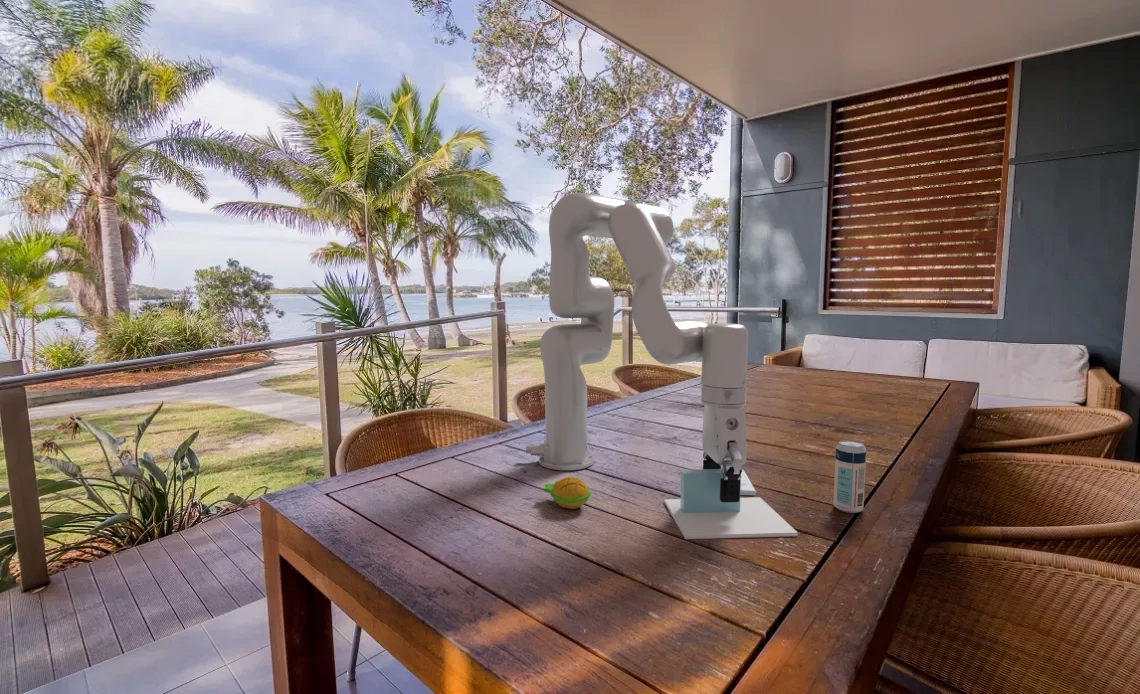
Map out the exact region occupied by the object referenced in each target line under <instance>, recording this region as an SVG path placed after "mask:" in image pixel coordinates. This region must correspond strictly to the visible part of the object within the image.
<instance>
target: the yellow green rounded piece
mask: <svg viewBox="0 0 1140 694" xmlns="http://www.w3.org/2000/svg"><path fill="white" fill-rule="evenodd" d="M542 490H543V492H546V493H549V494H550V496H551V497H552V498H553V500H554V501H555V503H556V504H558V506H560V507H562V508H564V509H568V510H575V509H577V508H580V507H582V506H584V505H585V504H586V503H587V501H588V500H589V497H591V496H592V495H591V493H592V492H591V489H589V487H588V486H587V484H586V483H585V482H583V480H582V479H580V478H577V477H572V476H566V477H563V478H560V479H558V480H555V482H554V483H546V484H545V486H544V487H543V488H542Z"/></svg>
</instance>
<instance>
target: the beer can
mask: <svg viewBox="0 0 1140 694" xmlns="http://www.w3.org/2000/svg"><path fill="white" fill-rule="evenodd" d="M866 457H867V449H866V446H865V444H864V443H862V442H859V441H854V440H840V441H839V442H838V444H837V445H836V446H835V463H834V482H833V485H834V486H833V502H832V503H833V504H832V505H833V507H835V508H836V509H837V510H839V511H841V512H843V513H847V514H858V513H861V512H863V510H864V504H865V503H864V501H865V483H866V466H867V465H866V463H867V462H866V461H867V458H866Z"/></svg>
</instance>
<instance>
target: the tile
mask: <svg viewBox="0 0 1140 694" xmlns="http://www.w3.org/2000/svg"><path fill="white" fill-rule="evenodd" d="M728 469H729V468H727V471H728ZM720 478H723V476H722V471H721V469H703V468H702V469H681V470H680V499H681V501H680V509H681V510H682V512H683V513H702V512H738V511H740V500H739V502H721V501H720ZM740 494H741V480H740Z"/></svg>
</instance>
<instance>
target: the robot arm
mask: <svg viewBox="0 0 1140 694" xmlns="http://www.w3.org/2000/svg"><path fill="white" fill-rule="evenodd" d="M548 223H549V224H548V236H549V243H550V265H549V266H550V267H549V268H550V269H549V290H548V291H549V297H548V298H549V300H548V301H549V303H548V304H549V308H550V312H551V313H552V314H553V315H554V316H555V317H557V318H560V319H581V320H580V323H567V324H557V325H554V326H551V327H549V328H548V329H547V330H545V331H544V333H543V334H542V335H541V338H540V343H539V347H540V348H539V349H540V351H539V352H540V356H541V360H542V361H541V362H542V366H543V373H544V374H543V375H544V399H545V400H544V402H545V403H544V407H545V408H544V410H545V411H544V413H545V414H544V415H545V423H544V424H545V440H544V441H543V442H544V443H539V445H538V444H537V445H536V444H535V445H534V444H526V445H525V453H526V455H527V454H530V456H539V457H538V463H539V465H540V466H542V467H544V468H546V469H549V470H555V471H578V470H583V469H587V468H590V467H591V466H592V465H593V464H594V463H595V457H594V455H593V454H591V453H590V452H588V384H587V380H586V378H585V376H584V373H583V372H582V371H583V370H582V369H581V367H580V366H586V365H592V364H597V363H600V362H603V361H604V360H606V358H607V357H608V356H609V354H610V352H611V349H612V343H613V329H614V318H615V317H614V313H615V295H614V291H613V288H612V286H611V285H610V283H609V282H608V281H607V280H606V279H604V278H602V277H600V276H594V275H591V276H590V263H591V261H590V259H591V258H590V253H589V250H588V249H589V248H588V247H587V244H586V242H585V239H583V238H584V236H591V237H599V238H608V239H612V240H613V242H614V244H615V247H616V249H617V250H618V253H619V255H620V256H621V259H622V261H623V263H624V265H625V267H626V269H627V272H628V274H629V276H630V278H631V280H632V283H633V287H634V288H633V290H632V296H631V313H632V320H633V323H634V326H635V329H636V331H637V333H638V336H639V337H640V340H641V341H642V344H643V346H644V347H645V349H646V352H648V353H649V355H650V356H651V357H652V358H653V359H654V361H656V362H658V363H660V364H663V365H668V366H669V365H677V364H683V363H691V362H699V361H701V379H700V380H701V385H700V403H701V404H702V405H704V408H703V417H702V418H703V419H702V433H701V434H702V443H701V444H702V448H703V454H702V459H703V460H702V469H721V471H722V476H723V478H720V501H721V502H739V500H740V498H741V495H740V480H741V473H742V470H743V466H744V464H746V463H747V426H746V424H747V423H746V415H745V406H747V404H746V402H747V380H748V375H747V374H748V355H749V354H748V353H749V331H748V329H747V327H746V326H745V325H743V324H738V323H720V322H718V323H717V322H716V323H712V322H708V321H704V320H698V319H697V320H696V319H695V320H694V319H693V320H689V319H688V320H687V319H686V320H674V319H673V318H672V315H671V314H670V312H669V309H668V308H667V305H666V303H665V299H664V295H663V286H664V284H665V283H666V282H667V281H668V280H670V278H672V277H673V275H674V274H675V271H676V267H677V266H676V262H675V261H674V259H673V257H672V255H671V253H670V251H669V249H668V247H667V244H669V243H670V241H671V240H672V238H673V235H674V222H673V220H672V217H671V215H670V214H669V213H668V212H667V210H665V209H664V208H662V207H659V206H655V205H652V204H651V205H650V204H645V203H641V202H633V201H629V200H625V199H621V198H615V197H611V196H604V195H599V194H594V193H588V192H572V193H570V194H569V193H568V194H566V195H564V196H563V197H561V198H560V199H558V201H557V202H556V203H555V204H554V206H553V208H552V210H551V213H550V217H549V221H548ZM727 467H729V468H727ZM727 469H728V471H727Z"/></svg>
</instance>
